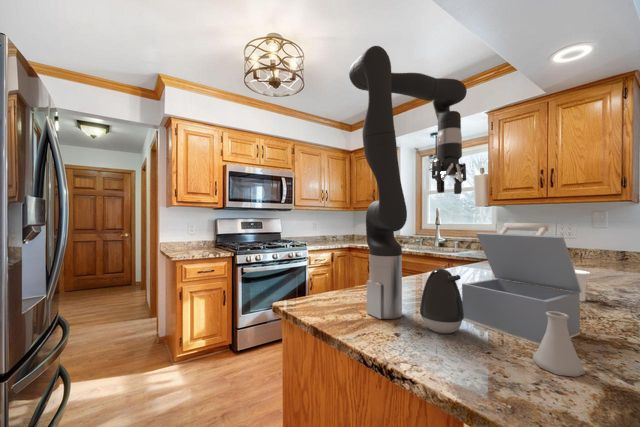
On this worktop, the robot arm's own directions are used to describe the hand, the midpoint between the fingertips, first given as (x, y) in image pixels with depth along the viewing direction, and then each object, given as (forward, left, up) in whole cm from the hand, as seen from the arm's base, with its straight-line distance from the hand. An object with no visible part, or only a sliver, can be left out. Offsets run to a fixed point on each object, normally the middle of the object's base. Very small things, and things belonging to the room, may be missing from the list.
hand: (449, 193), depth 97 cm
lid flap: (0, -22, -19) cm, 29 cm away
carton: (-3, -22, -36) cm, 42 cm away
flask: (-19, -37, -36) cm, 55 cm away
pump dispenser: (-22, -14, -36) cm, 45 cm away
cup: (+42, -17, -36) cm, 58 cm away
